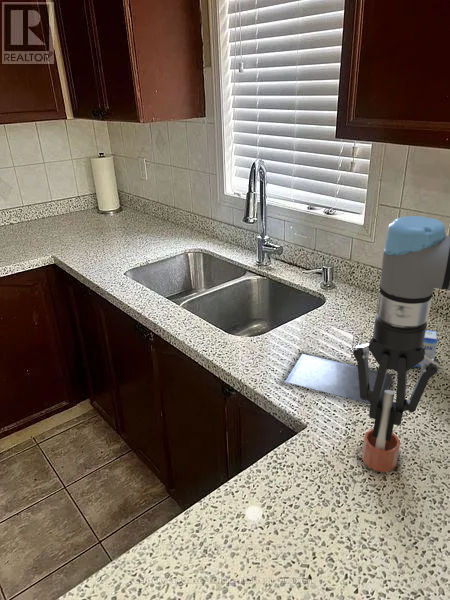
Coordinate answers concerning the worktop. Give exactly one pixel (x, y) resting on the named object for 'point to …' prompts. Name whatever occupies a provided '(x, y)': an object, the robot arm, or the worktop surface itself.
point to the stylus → (384, 419)
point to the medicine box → (429, 345)
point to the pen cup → (380, 453)
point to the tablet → (332, 377)
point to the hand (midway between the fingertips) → (382, 433)
